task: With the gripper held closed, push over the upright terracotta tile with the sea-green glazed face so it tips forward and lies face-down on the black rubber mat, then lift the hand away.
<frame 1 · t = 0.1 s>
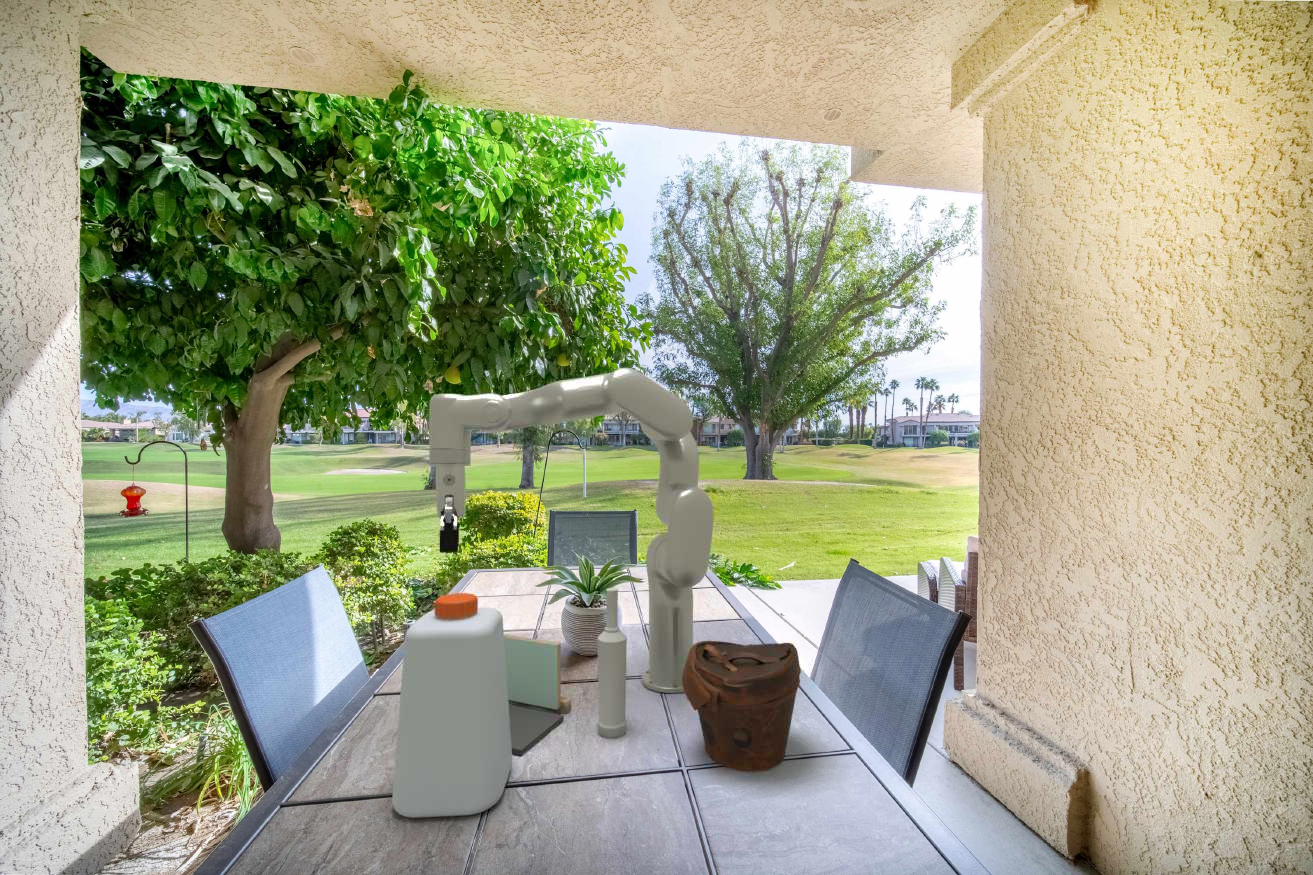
hand: (449, 547, 109), 31 cm above the table, tool pointing down, fingers open, 9 cm apart
plastic bottle: (455, 789, 84), on the table
bottle: (612, 732, 101), on the table
case: (742, 752, 94), on the table
tile stand: (533, 704, 111), on the table
phone case: (516, 674, 128), on the table
rubber mat: (500, 727, 102), on the table
tile: (527, 670, 110), point 7 cm above the table, hinge at 0.0°
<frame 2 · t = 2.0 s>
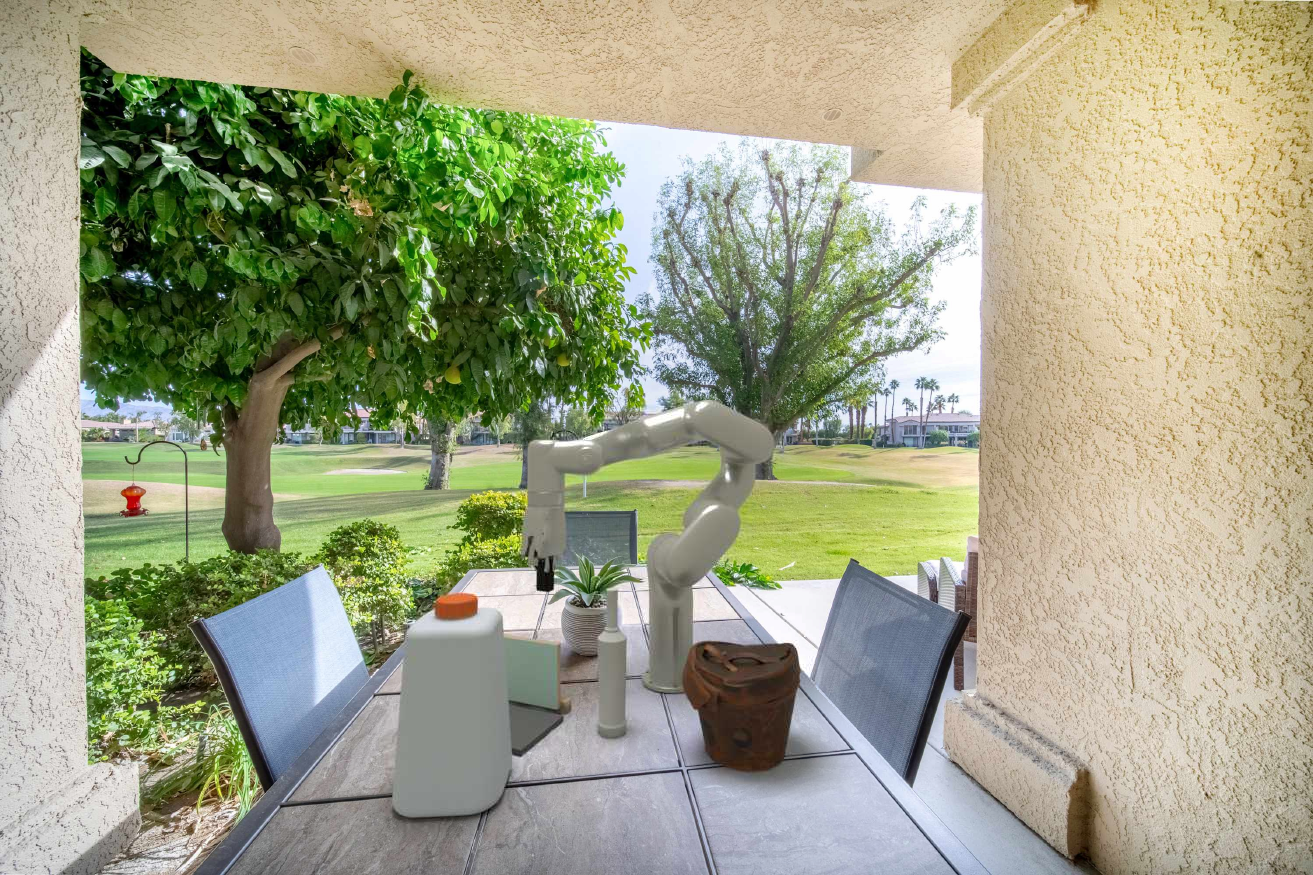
hand: (545, 590, 116), 21 cm above the table, tool pointing down, fingers closed
nothing on the table moved.
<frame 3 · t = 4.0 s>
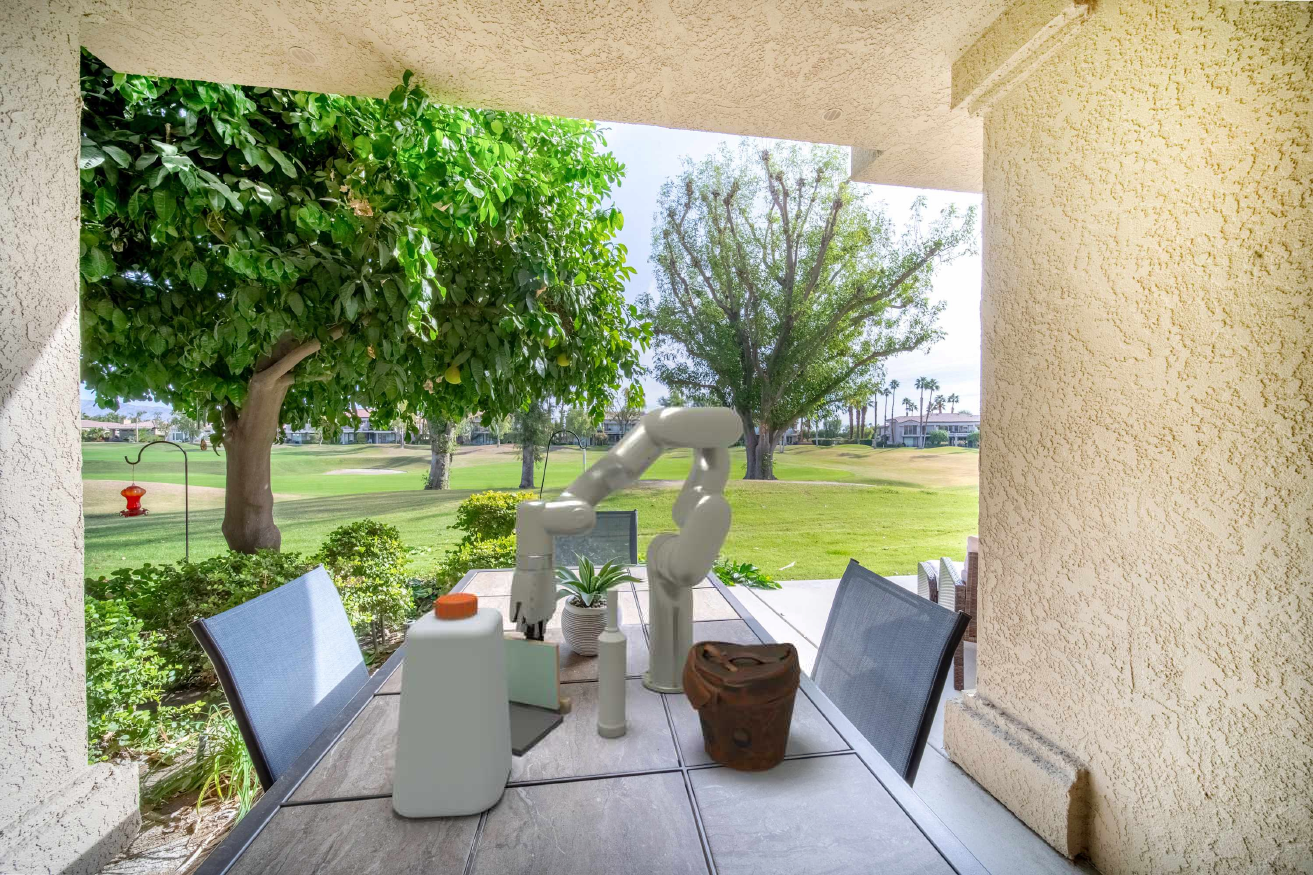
hand: (534, 655, 112), 9 cm above the table, tool pointing down, fingers closed
tile: (526, 671, 109), point 7 cm above the table, hinge at 2.8°, touching gripper
everything else where it was.
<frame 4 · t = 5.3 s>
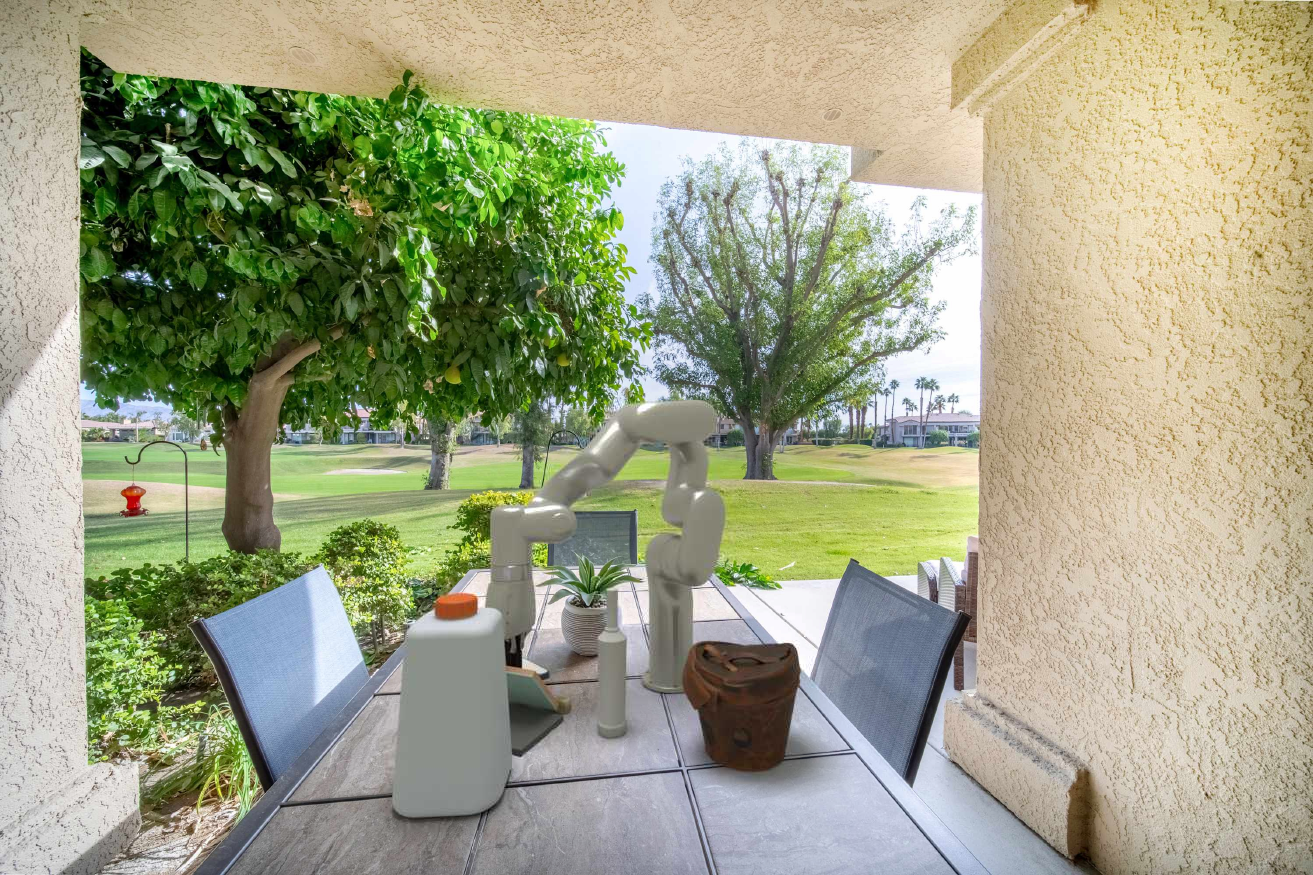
hand: (512, 671, 105), 9 cm above the table, tool pointing down, fingers closed
tile: (514, 685, 106), point 6 cm above the table, hinge at 40.9°, touching gripper
everything else where it was.
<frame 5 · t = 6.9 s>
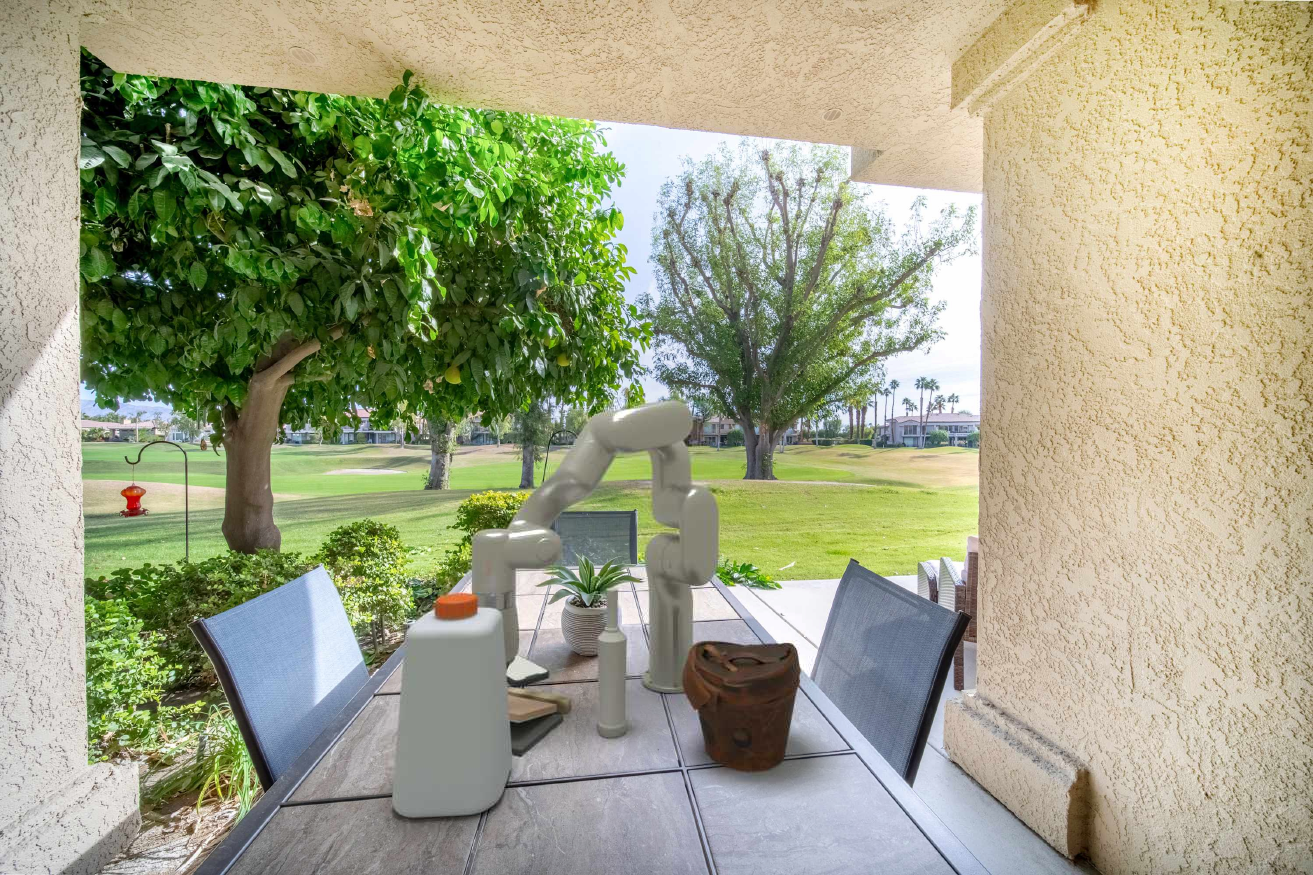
hand: (493, 704, 100), 5 cm above the table, tool pointing down, fingers closed
tile: (506, 706, 104), point 3 cm above the table, hinge at 75.2°, touching gripper
everything else where it was.
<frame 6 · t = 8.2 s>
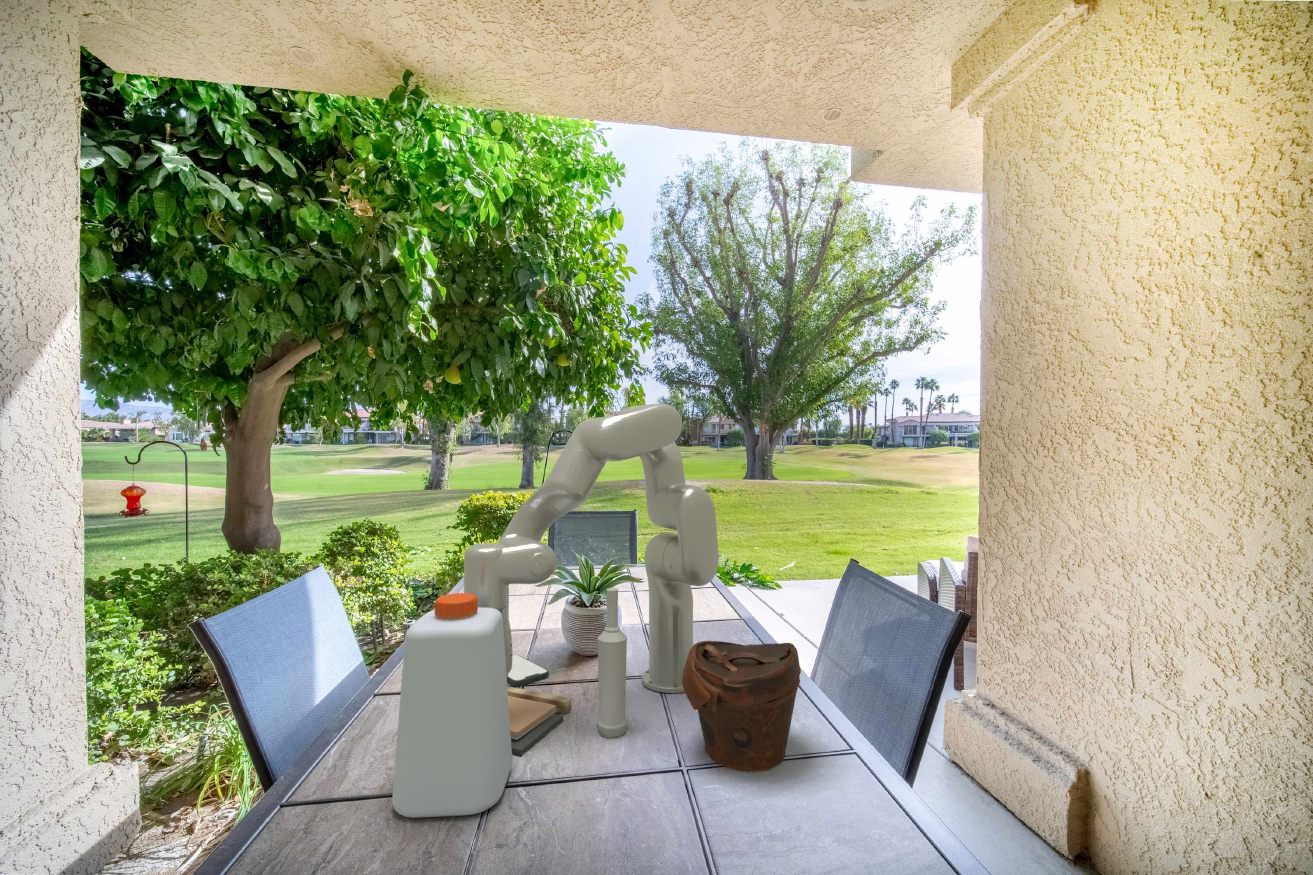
hand: (486, 722, 98), 3 cm above the table, tool pointing down, fingers closed
tile: (505, 714, 103), point 2 cm above the table, hinge at 87.7°, touching gripper
everything else where it was.
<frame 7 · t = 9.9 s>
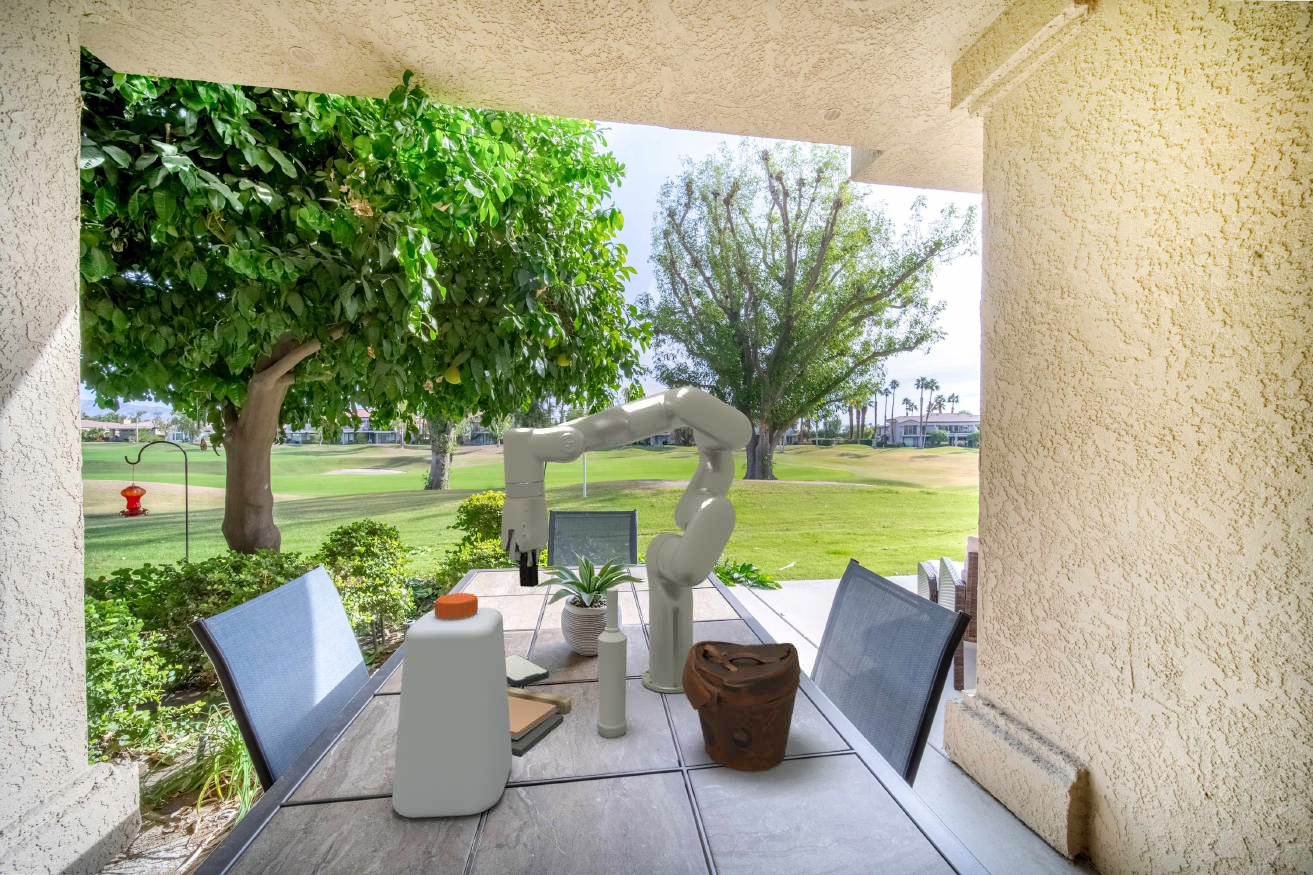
hand: (529, 585, 111), 24 cm above the table, tool pointing down, fingers closed
tile: (505, 714, 103), point 2 cm above the table, hinge at 87.7°
everything else where it was.
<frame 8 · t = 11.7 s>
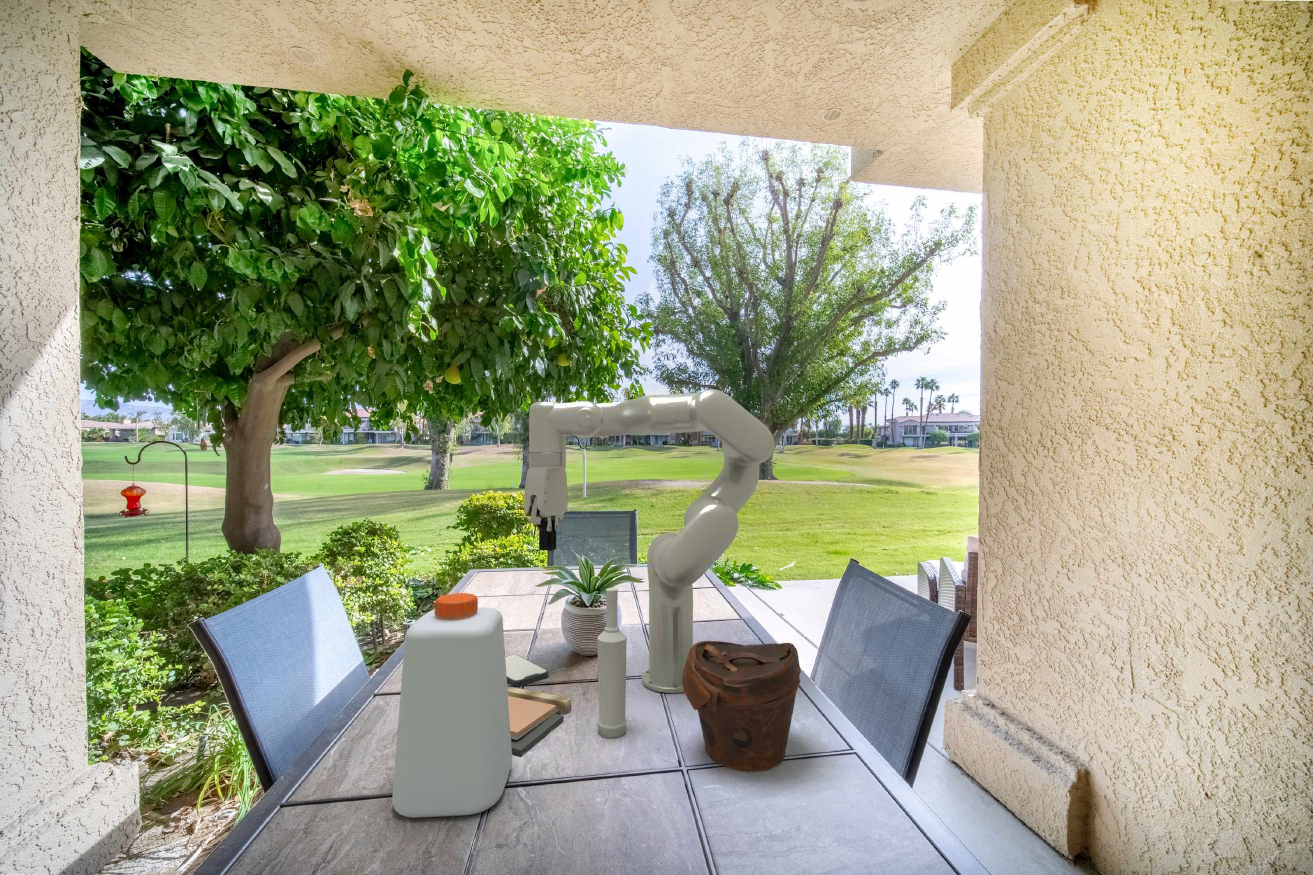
hand: (547, 549, 118), 29 cm above the table, tool pointing down, fingers closed
nothing on the table moved.
at the end: tile at +88° (first picture: +0°) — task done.
